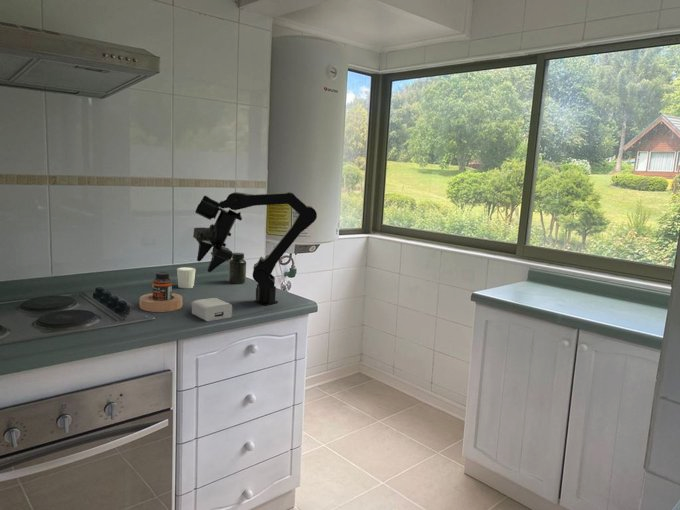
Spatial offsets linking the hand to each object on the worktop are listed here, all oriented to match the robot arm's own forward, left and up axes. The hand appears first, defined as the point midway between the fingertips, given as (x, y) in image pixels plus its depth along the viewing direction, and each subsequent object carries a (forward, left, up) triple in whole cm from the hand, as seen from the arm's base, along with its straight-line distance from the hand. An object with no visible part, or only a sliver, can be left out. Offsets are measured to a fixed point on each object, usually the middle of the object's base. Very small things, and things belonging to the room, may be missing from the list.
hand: (203, 266), depth 179 cm
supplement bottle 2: (+13, -28, -12) cm, 33 cm away
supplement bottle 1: (+2, +15, -12) cm, 19 cm away
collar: (+3, +15, -12) cm, 19 cm away
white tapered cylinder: (+20, -9, -12) cm, 25 cm away
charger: (-13, +9, -13) cm, 21 cm away
